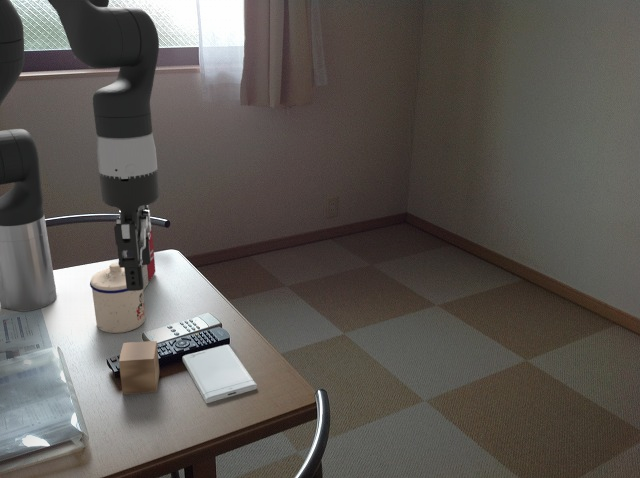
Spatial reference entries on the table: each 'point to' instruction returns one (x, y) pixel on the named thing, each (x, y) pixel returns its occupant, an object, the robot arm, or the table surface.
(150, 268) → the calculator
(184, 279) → the table surface
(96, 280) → the teacup with lid
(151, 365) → the tan block
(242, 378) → the hard drive
